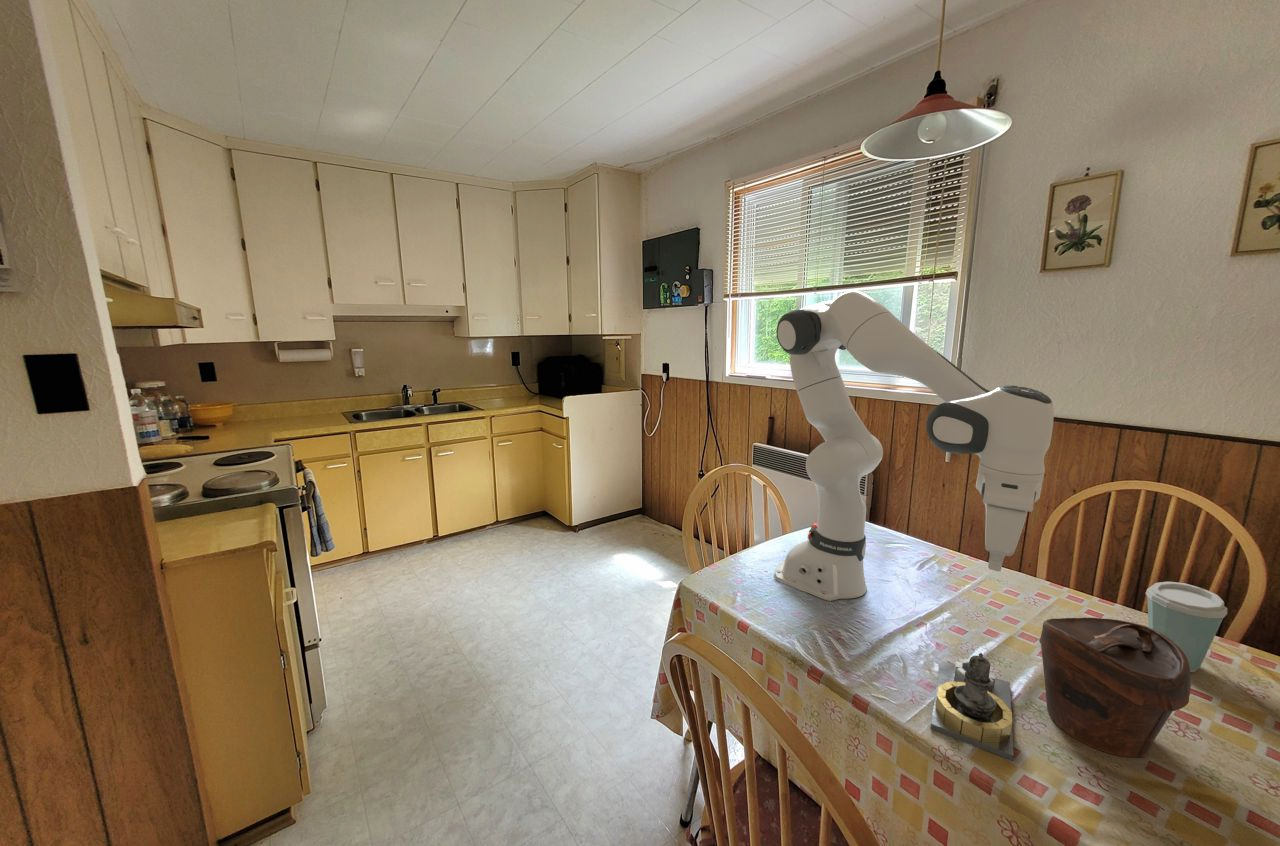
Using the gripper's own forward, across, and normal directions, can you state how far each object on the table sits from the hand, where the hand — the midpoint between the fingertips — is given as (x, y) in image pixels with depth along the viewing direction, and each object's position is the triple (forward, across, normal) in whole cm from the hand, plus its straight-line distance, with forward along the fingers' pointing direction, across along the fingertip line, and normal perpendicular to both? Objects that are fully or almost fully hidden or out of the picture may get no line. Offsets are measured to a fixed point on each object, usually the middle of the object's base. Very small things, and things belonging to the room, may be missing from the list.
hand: (994, 557), depth 87 cm
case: (+25, 0, +17) cm, 31 cm away
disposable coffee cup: (+25, -30, +32) cm, 50 cm away
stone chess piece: (+25, +11, 0) cm, 27 cm away
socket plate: (+26, +7, 0) cm, 26 cm away
